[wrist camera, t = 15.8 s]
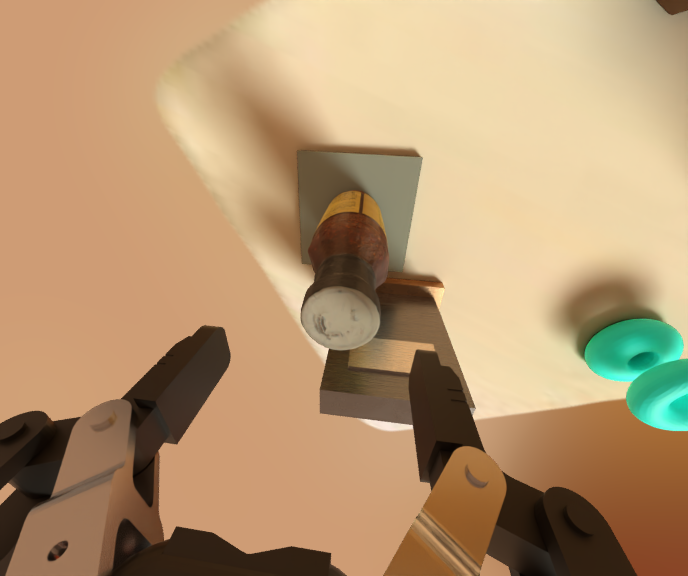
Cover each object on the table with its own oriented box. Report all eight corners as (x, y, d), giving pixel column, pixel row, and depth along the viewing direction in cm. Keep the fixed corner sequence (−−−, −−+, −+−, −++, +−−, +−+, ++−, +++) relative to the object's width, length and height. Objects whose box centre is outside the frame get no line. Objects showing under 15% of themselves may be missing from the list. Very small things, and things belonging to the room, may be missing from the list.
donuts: (690, 445, 30) (618, 419, 29) (619, 377, 38) (562, 355, 38) (795, 395, 25) (713, 361, 24) (687, 330, 33) (623, 303, 33)
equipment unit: (442, 282, 34) (496, 397, 19) (432, 319, 37) (471, 443, 22) (336, 273, 35) (306, 375, 20) (335, 309, 38) (308, 422, 23)
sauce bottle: (321, 231, 31) (255, 343, 14) (337, 179, 28) (277, 240, 11) (372, 250, 31) (368, 380, 14) (393, 200, 28) (420, 291, 11)
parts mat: (421, 156, 27) (422, 157, 26) (401, 268, 33) (402, 272, 32) (299, 150, 28) (297, 150, 27) (303, 260, 34) (301, 263, 33)
